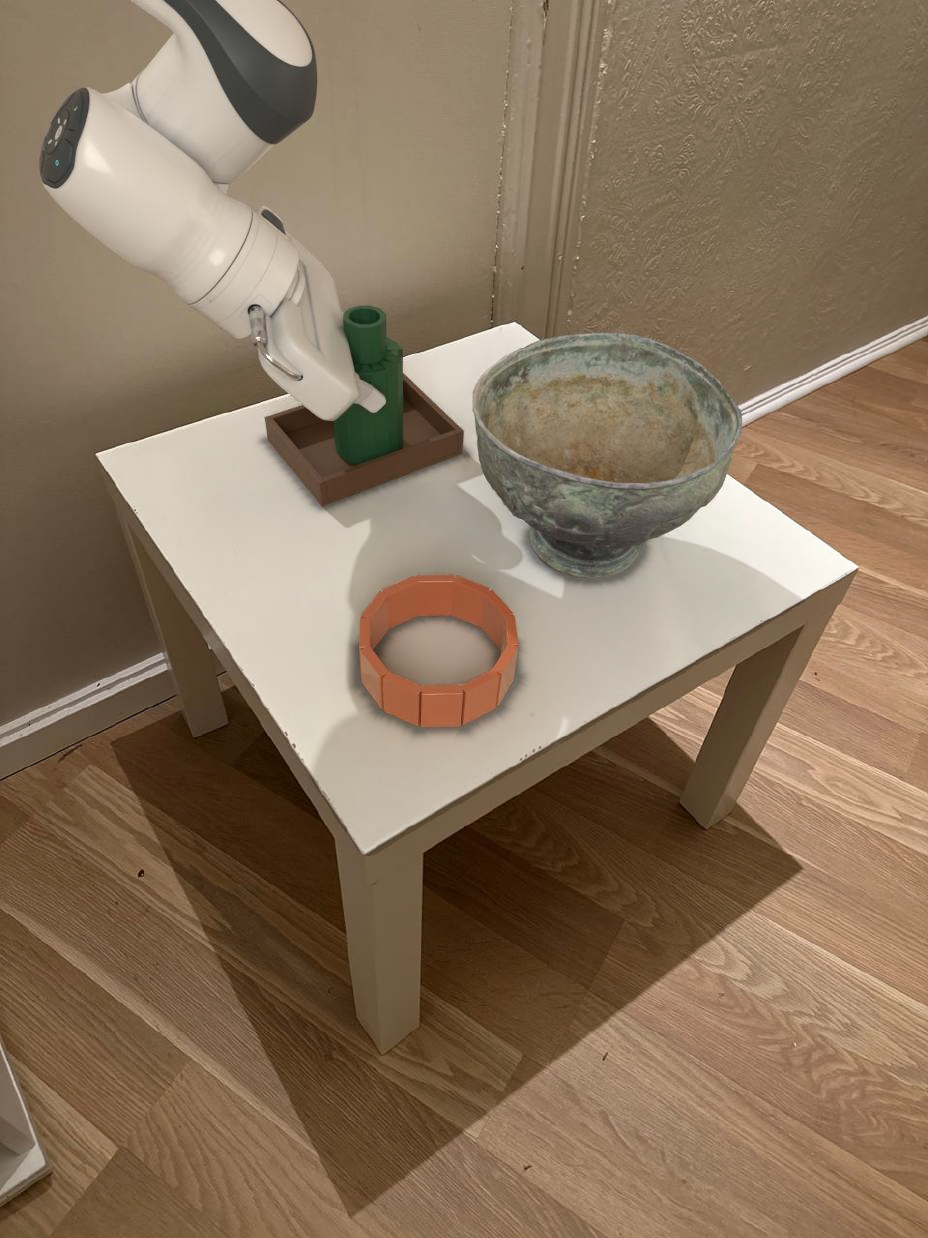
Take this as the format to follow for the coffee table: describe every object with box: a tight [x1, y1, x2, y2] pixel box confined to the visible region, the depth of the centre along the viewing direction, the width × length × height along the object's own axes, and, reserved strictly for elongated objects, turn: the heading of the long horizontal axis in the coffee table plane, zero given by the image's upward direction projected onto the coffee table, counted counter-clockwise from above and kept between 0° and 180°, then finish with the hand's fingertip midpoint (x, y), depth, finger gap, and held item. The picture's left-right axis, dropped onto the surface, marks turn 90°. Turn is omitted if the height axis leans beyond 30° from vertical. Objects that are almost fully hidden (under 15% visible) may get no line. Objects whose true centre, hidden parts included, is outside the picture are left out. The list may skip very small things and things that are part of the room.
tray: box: [264, 372, 465, 507], centre depth 85 cm, size 15×11×3 cm
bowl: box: [471, 331, 743, 579], centre depth 73 cm, size 20×19×15 cm
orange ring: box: [358, 574, 520, 728], centre depth 67 cm, size 12×12×4 cm
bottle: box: [333, 305, 404, 465], centre depth 80 cm, size 6×6×14 cm
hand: (373, 377), depth 80 cm, fingers closed on bottle, 6 cm apart
